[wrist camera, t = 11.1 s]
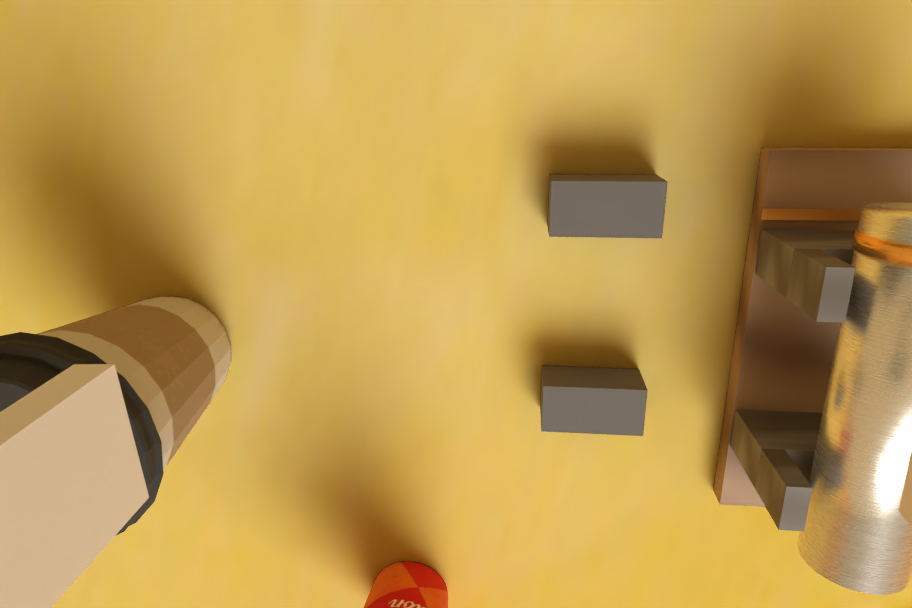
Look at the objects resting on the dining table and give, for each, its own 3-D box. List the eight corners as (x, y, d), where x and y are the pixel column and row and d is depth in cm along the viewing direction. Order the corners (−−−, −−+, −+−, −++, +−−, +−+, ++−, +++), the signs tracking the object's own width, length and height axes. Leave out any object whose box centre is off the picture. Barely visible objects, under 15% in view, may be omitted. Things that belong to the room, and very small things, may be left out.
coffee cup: (69, 296, 43) (-159, 398, 28) (214, 239, 40) (44, 319, 26) (152, 440, 45) (-17, 597, 31) (291, 394, 43) (177, 542, 29)
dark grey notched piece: (761, 147, 35) (841, 167, 26) (936, 147, 34) (1081, 167, 25) (713, 490, 42) (764, 598, 33) (858, 498, 41) (950, 611, 32)
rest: (549, 174, 37) (551, 180, 34) (656, 174, 36) (667, 181, 33) (540, 408, 42) (541, 431, 39) (634, 412, 41) (643, 435, 38)
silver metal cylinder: (838, 201, 30) (899, 222, 25) (957, 202, 30) (1042, 224, 25) (780, 523, 36) (820, 592, 31) (878, 529, 35) (935, 600, 30)
